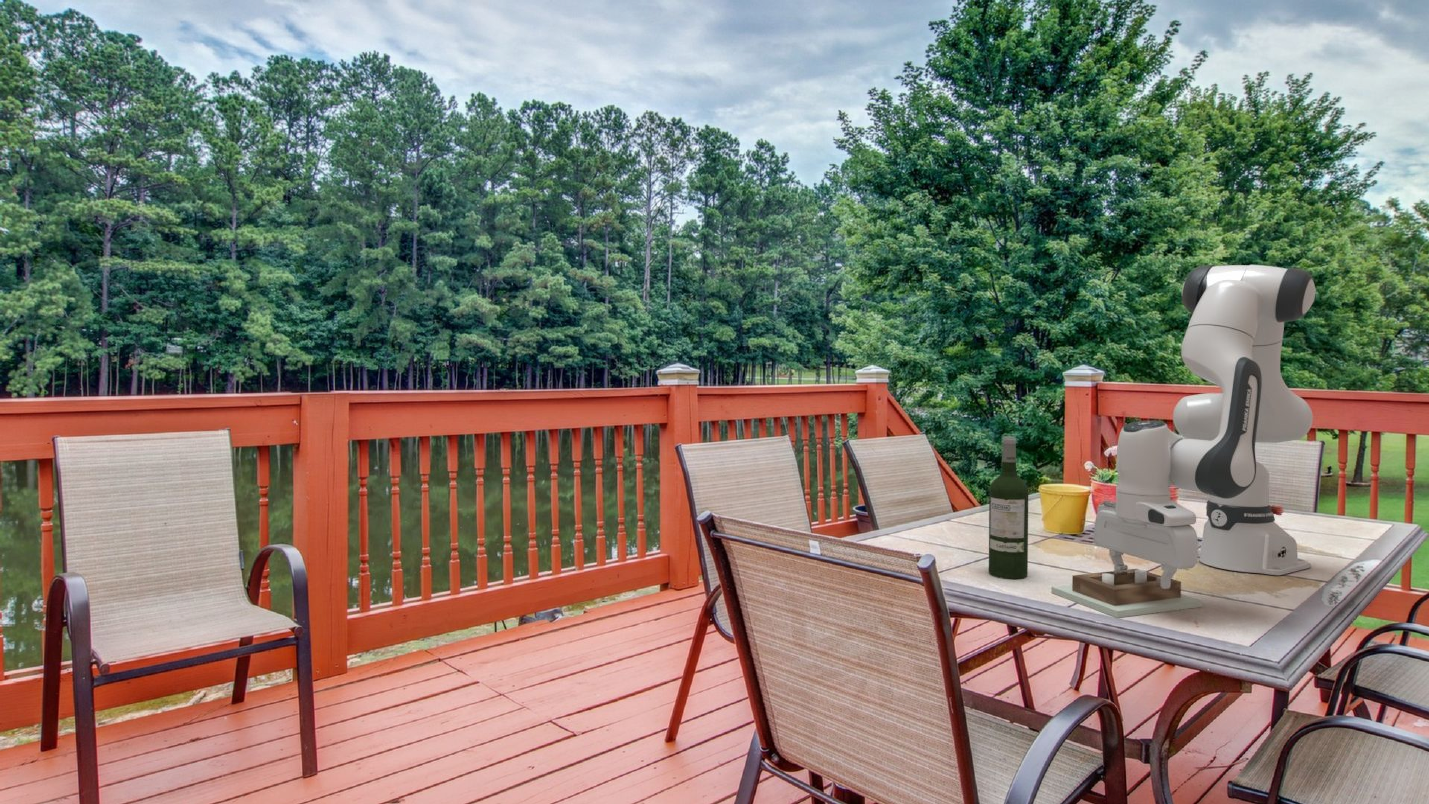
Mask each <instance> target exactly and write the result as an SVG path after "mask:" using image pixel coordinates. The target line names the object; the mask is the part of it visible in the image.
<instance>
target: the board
mask: <svg viewBox="0 0 1429 804" xmlns="http://www.w3.org/2000/svg"><path fill="white" fill-rule="evenodd" d="M1147 572H1148V571H1147V570H1143V569H1139V570H1135V583H1142V582H1147ZM1102 582H1105V583H1108V584H1111V585H1114V575H1113V574H1109V573H1103V574H1102ZM1051 594H1054V595H1057V596H1060V597H1061V598H1064V599H1066V600H1069V601H1072V602H1074V603H1077V604H1080V605H1083V606H1085V607H1087V608H1090V609H1093V610H1096V611H1098V612H1100V613H1101V612H1102V613H1104V614H1106V615H1108V616H1111V617H1114V618H1117V619H1118V618H1119V619H1121V618H1126V617H1135V616H1140V615H1141V616H1142V615H1150V614H1157V612H1158V613H1165V612H1173V611H1180V609H1181V610H1188V609H1195V608H1202V607H1203V600H1202V599H1198V598H1195V597H1192V596H1188V595H1185V594H1184V593H1183V594H1182V593H1181V598H1173V599H1165V600H1157V601H1149V602H1141V603H1133V604H1125V605H1117V606H1113V605H1110V604H1108V603H1105V602H1102V601H1099V600H1097V599H1094V598H1091V597H1088V596H1085V595H1083V594H1080V593H1077V592H1074V591H1072V584H1065V585H1055V586H1051Z"/></svg>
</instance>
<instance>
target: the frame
mask: <svg viewBox="0 0 1429 804" xmlns="http://www.w3.org/2000/svg"><path fill="white" fill-rule="evenodd" d="M1135 570H1140V569H1139V568H1129V569H1127V574H1126V575H1119V574H1116V573H1115V572H1114V570H1111V571H1102V572H1093V573H1085V574H1084V573H1083V574H1082V573H1081V574H1076V575H1075V574H1074V575H1072V580H1071V581H1072V584H1071V585H1072V591H1074V592H1077V593H1080V594H1083V595H1085V596H1088V597H1091V598H1094V599H1097V600H1099V601H1102V602H1105V603H1108V604H1110V605H1113V606H1117V605H1125V604H1133V603H1141V602H1149V601H1157V600H1165V599H1173V598H1181V594H1182V581H1180V580H1177V579H1173V578H1171V584H1170V588H1169V589H1163V588H1160V587H1157V586H1156V583H1157V582H1156V577H1161V576H1162V575H1159V574H1156V573H1153V572H1148V571H1147V582H1142V583H1135ZM1103 573H1109V574H1113V575H1114V585H1111V584H1108V583H1105V582H1102V574H1103Z"/></svg>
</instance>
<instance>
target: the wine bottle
mask: <svg viewBox="0 0 1429 804" xmlns="http://www.w3.org/2000/svg"><path fill="white" fill-rule="evenodd" d="M1016 444H1017V439H1016V436H1003V438H1002V452H1001V453H1002V455H1001V470H1000V471H1001V472H1000V474H999V476H997V477H996V478H995V479H994V480H993V481H992V482H991V484H990V486H989V490H988V492H989V496H988V497H989V503H988V505H989V506H988V507H989V510H988V517H989V518H988V572H989V574H990V575H991V574H992V575H991V576H993V575H994V576H993V577H995V578H1000V577H1002V578H1001V579H1006V578H1007V579H1008V580H1021V579H1025V578H1027V576H1028V575H1029V574H1028V571H1029V568H1028V567H1029V565H1028V564H1029V563H1028V560H1029V559H1028V558H1029V557H1028V556H1029V555H1028V554H1029V487H1028V484H1026V482H1025V481H1024V480H1023V479H1022V478H1021V477H1019V475H1018V471H1017V448H1016V447H1017V446H1016ZM1007 579H1006V580H1007Z"/></svg>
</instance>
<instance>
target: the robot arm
mask: <svg viewBox="0 0 1429 804" xmlns="http://www.w3.org/2000/svg"><path fill="white" fill-rule="evenodd" d="M1314 282H1315V280H1314V277H1313V276H1312V275H1311V274H1310V273H1309V272H1308V271H1306V270H1304V269H1301V268H1296V267H1295V268H1294V267H1288V268H1284V267H1278V266H1273V265H1263V264H1261V265H1260V264H1249V265H1242V264H1240V265H1239V264H1235V265H1234V264H1233V265H1232V264H1230V265H1215V264H1207V265H1200V266H1196V267H1195V268H1194V269H1192V270H1190V272H1189V273H1188V275H1187V276H1186V278H1185V281H1184V282H1183V285H1182V289H1181V300H1182V301H1181V302H1182V305H1183V306H1184V308H1185V309H1186V310H1187V311H1188V312H1189V313H1191V314H1192V315H1191V317H1190V320H1189V323H1188V326H1187V328H1186V331H1185V335H1184V337H1183V341H1182V343H1181V351H1180V352H1181V358H1182V361H1183V363H1184V365H1185V366H1186V367H1187V369H1188V370H1189V371H1190V372H1191V373H1192V374H1194V375H1196V376H1197V377H1199V378H1201V379H1203V380H1204V381H1207V382H1209V383H1211V384H1213V385H1216V386H1218V387H1219V389H1221V391H1222V393H1221V392H1220V393H1219V392H1218V393H1217V392H1209V393H1208V392H1206V393H1199V394H1193V395H1187V396H1183V397H1182V398H1181V399H1180V400H1179V401H1178V402H1177V403H1176V405H1175V406H1174V409H1173V412H1172V421H1173V425H1174V427H1175V429H1176V431H1177V432H1178V433H1179V434H1177V433H1175V431H1174V432H1173V431H1172V430H1171V429H1169V426H1168V424H1167V423H1166V422H1165V421H1160V420H1138V421H1137V420H1136V421H1133V422H1130V423H1127V424H1125V425H1124V426H1123V427H1122V428H1121V430H1120V432H1119V436H1118V440H1117V446H1116V462H1115V463H1116V471H1117V475H1118V480H1117V484H1116V488H1115V501H1111V500H1107V499H1105V500H1103V501H1102V502H1100V503H1099V504H1098V505H1097V514H1096V516H1095V521H1094V528H1093V538H1092V539H1093V541H1094V544H1095V545H1096V546H1097V547H1101V548H1103V549H1107V550H1109V551H1108V555H1109V557H1110V559H1111V561H1112V563H1113V565H1114V566H1113V571H1114V572H1115V573H1116V574H1119V575H1126V574H1127V570H1128V566H1129V565H1127V564H1125V563H1124V560H1123V557H1122V556H1124V554H1125V555H1128V556H1132V557H1136V558H1139V559H1142V560H1145V561H1149V562H1153V563H1156V564H1159V565H1160V569H1161V571H1163V572H1162V574H1161V575H1160V576H1161V577H1156V582H1157V583H1156V586H1157V587H1160V588H1163V589H1169V588H1170V584H1171V579H1173V577H1174V576H1175V574H1176V573H1177V571H1178V570H1188V569H1193V568H1194V567H1195V566H1196V565H1197V564H1198V560H1199V562H1200V563H1202V564H1204V565H1207V566H1210V567H1214V568H1218V569H1222V570H1228V571H1234V572H1241V573H1242V572H1243V573H1251V574H1252V573H1255V574H1265V575H1272V576H1282V575H1283V576H1284V575H1286V574H1290V573H1294V572H1298V571H1302V570H1305V569H1309V568H1312V563H1311V562H1309V561H1308V560H1306V559H1305V560H1304V559H1301V558H1299V557H1298V555H1299V554H1298V544H1297V541H1296V538H1294V537H1293V536H1291V535H1290V534H1289V533H1288V532H1287V531H1285V530H1284V529H1283V528H1282V527H1281V526H1279V525H1278V524H1277V523H1276V522H1275V521H1276V519H1275V515H1277V516H1282V515H1283V513H1284V508H1283V506H1279V505H1278V506H1277V505H1274V504H1273V505H1271V504H1270V503H1269V502H1270V473H1269V471H1268V469H1267V467H1266V466H1265V465H1263V464H1262V463H1260V462H1258V461H1257V460H1256V459H1257V458H1256V443H1269V444H1276V443H1283V442H1293V441H1298V440H1302V439H1303V438H1304V437H1305V436H1306V435H1308V433H1309V432H1310V430H1311V428H1312V425H1313V422H1314V416H1313V410H1312V408H1311V407H1310V405H1309V404H1308V403H1307V402H1306V400H1305V399H1303V398H1302V397H1300V396H1299V395H1297V394H1296V393H1294V392H1293V391H1292V390H1291V389H1290V388H1289V387H1288V386H1287V385H1286V382H1285V381H1284V379H1283V377H1282V372H1281V355H1282V354H1281V353H1282V346H1283V339H1284V331H1285V329H1284V327H1285V323H1289V322H1294V321H1297V320H1299V319H1302V318H1303V317H1305V316H1306V314H1307V313H1308V311H1309V309H1311V307H1312V305H1313V304H1314V302H1315V298H1316V286H1315V283H1314ZM1170 487H1172V488H1177V489H1180V490H1188V491H1191V492H1199V493H1204V494H1206V495H1208V500H1207V501H1206V506H1205V510H1206V517H1207V521H1205V522H1204V524H1203V528H1202V529H1203V530H1202V538H1201V546H1200V550H1199V544H1198V534H1197V530H1196V529H1195V527H1193V525H1195V524H1197V515H1196V513H1195V512H1194V511H1191V510H1190V509H1188V508H1186V507H1185V506H1183V505H1182V504H1180V503H1178V502H1176V501H1174V500H1173V499H1171V490H1170ZM1198 558H1199V559H1198Z"/></svg>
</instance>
